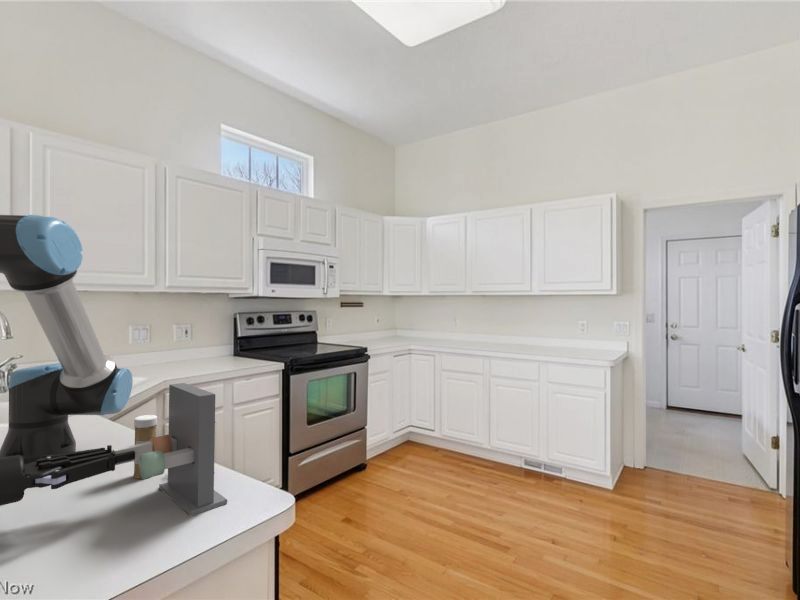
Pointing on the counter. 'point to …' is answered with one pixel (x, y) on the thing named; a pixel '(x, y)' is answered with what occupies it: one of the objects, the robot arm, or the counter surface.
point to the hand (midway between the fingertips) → (151, 449)
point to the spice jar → (143, 434)
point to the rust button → (164, 443)
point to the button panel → (194, 430)
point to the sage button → (163, 461)
